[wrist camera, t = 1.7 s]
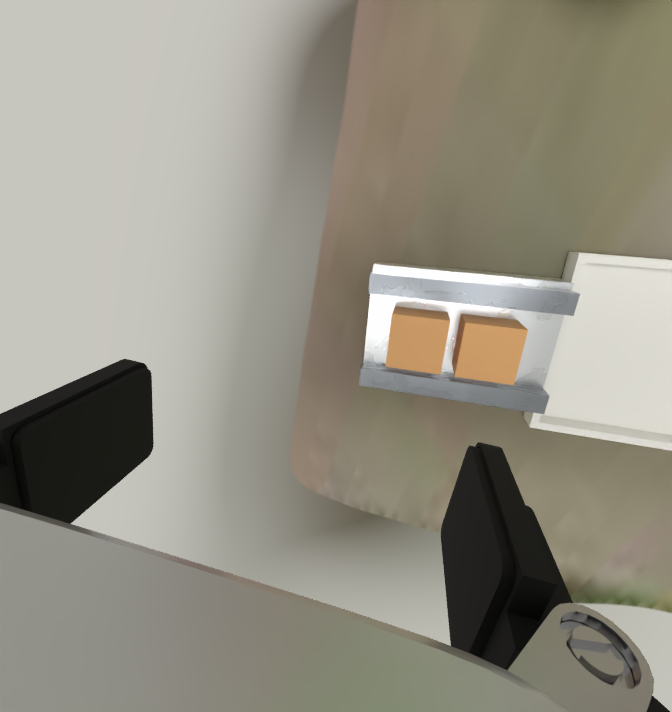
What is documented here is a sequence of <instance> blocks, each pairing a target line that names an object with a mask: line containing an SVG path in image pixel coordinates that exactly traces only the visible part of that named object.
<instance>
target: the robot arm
mask: <svg viewBox="0 0 672 712" xmlns="http://www.w3.org/2000/svg"><path fill="white" fill-rule="evenodd" d="M152 417H153V414H152V380H151V372H150V370H148V369H147V366H146V365H145V364H144V363H140V362H136V361H132V360H127V359H123V360H120V361H118V362H116V363H114V364H111V365H109V366H107V367H105V368H102V369H100V370H98V371H96V372H93V373H91V374H89V375H87V376H84V377H82V378H80V379H78V380H75V381H73V382H71V383H69V384H66V385H64V386H62V387H60V388H57V389H55V390H53V391H51V392H48V393H46V394H44V395H42V396H39V397H37V398H35V399H33V400H30V401H28V402H26V403H24V404H22V405H19V406H17V407H15V408H13V409H10V410H8V411H6V412H4V413H1V414H0V712H670V711H669V710H668V709H667V708H665V707H664V706H663V705H662V704H661V703H660V702H659V701H658V700H657V699H655V698H654V697H653V696H652V694H653V684H654V679H653V676H652V673H651V670H650V667H649V665H648V663H647V661H646V659H645V658H644V656H643V655H642V653H641V652H640V650H639V648H638V647H637V646H636V645H635V644H634V643H633V642H632V640H631V639H630V638H629V637H628V636H627V634H625V633H624V632H623V631H622V630H621V629H619V627H617V626H616V625H615V624H614V623H613V622H612V621H610V620H609V619H607V618H605V617H604V616H603V615H601V614H600V613H598V612H596V611H594V610H592V609H590V608H587V607H585V606H583V605H578V604H574V603H573V602H572V600H571V597H570V595H569V593H568V590H567V588H566V586H565V583H564V581H563V579H562V576H561V574H560V572H559V569H558V567H557V565H556V562H555V560H554V558H553V555H552V553H551V551H550V549H549V546H548V544H547V542H546V539H545V537H544V535H543V532H542V530H541V528H540V525H539V523H538V521H537V518H536V516H535V514H534V512H533V510H532V509H531V508H530V507H529V506H526V505H525V503H524V501H523V498H522V496H521V494H520V491H519V489H518V486H517V484H516V481H515V479H514V476H513V474H512V472H511V469H510V467H509V464H508V462H507V459H506V457H505V454H504V452H503V450H502V448H501V447H497V446H492V445H488V444H484V443H480V442H479V443H477V444H476V446H475V447H473V446H469V447H468V449H467V451H466V454H465V457H464V460H463V463H462V466H461V469H460V472H459V475H458V478H457V481H456V484H455V487H454V490H453V493H452V496H451V499H450V502H449V505H448V508H447V511H446V514H445V517H444V520H443V524H442V529H441V543H442V554H443V564H444V575H445V585H446V597H447V608H448V618H449V629H450V640H451V646H449V645H446V644H444V643H441V642H439V641H436V640H433V639H431V638H428V637H425V636H422V635H419V634H416V633H413V632H410V631H407V630H404V629H401V628H398V627H396V626H392V625H390V624H387V623H383V622H381V621H378V620H374V619H372V618H369V617H366V616H363V615H360V614H357V613H354V612H351V611H348V610H345V609H341V608H338V607H335V606H332V605H329V604H326V603H322V602H319V601H316V600H313V599H310V598H307V597H304V596H300V595H297V594H294V593H291V592H288V591H285V590H281V589H278V588H275V587H272V586H269V585H266V584H262V583H259V582H256V581H253V580H249V579H247V578H243V577H240V576H237V575H234V574H231V573H228V572H224V571H221V570H218V569H215V568H212V567H208V566H205V565H202V564H199V563H195V562H192V561H189V560H186V559H183V558H179V557H176V556H173V555H170V554H167V553H163V552H160V551H156V550H154V549H150V548H147V547H144V546H140V545H137V544H134V543H131V542H127V541H124V540H121V539H118V538H114V537H111V536H108V535H105V534H101V533H98V532H95V531H92V530H88V529H85V528H82V527H79V526H75V525H72V524H70V523H72V522H73V521H74V520H75V519H76V518H78V517H79V516H80V515H81V514H82V513H83V512H85V510H87V509H88V508H89V507H90V506H92V505H93V504H94V503H95V502H96V501H97V500H98V499H100V498H101V497H102V496H103V495H104V494H106V492H108V491H109V490H110V489H111V488H112V487H114V486H115V485H116V484H117V483H118V482H120V481H121V480H122V479H123V478H124V477H125V476H126V475H128V474H129V473H130V472H131V471H132V470H133V469H135V468H136V467H137V466H138V465H139V464H140V463H141V462H143V461H144V460H145V459H146V458H147V457H148V456H149V455H150V454H151V452H152V449H153V418H152Z"/></svg>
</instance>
